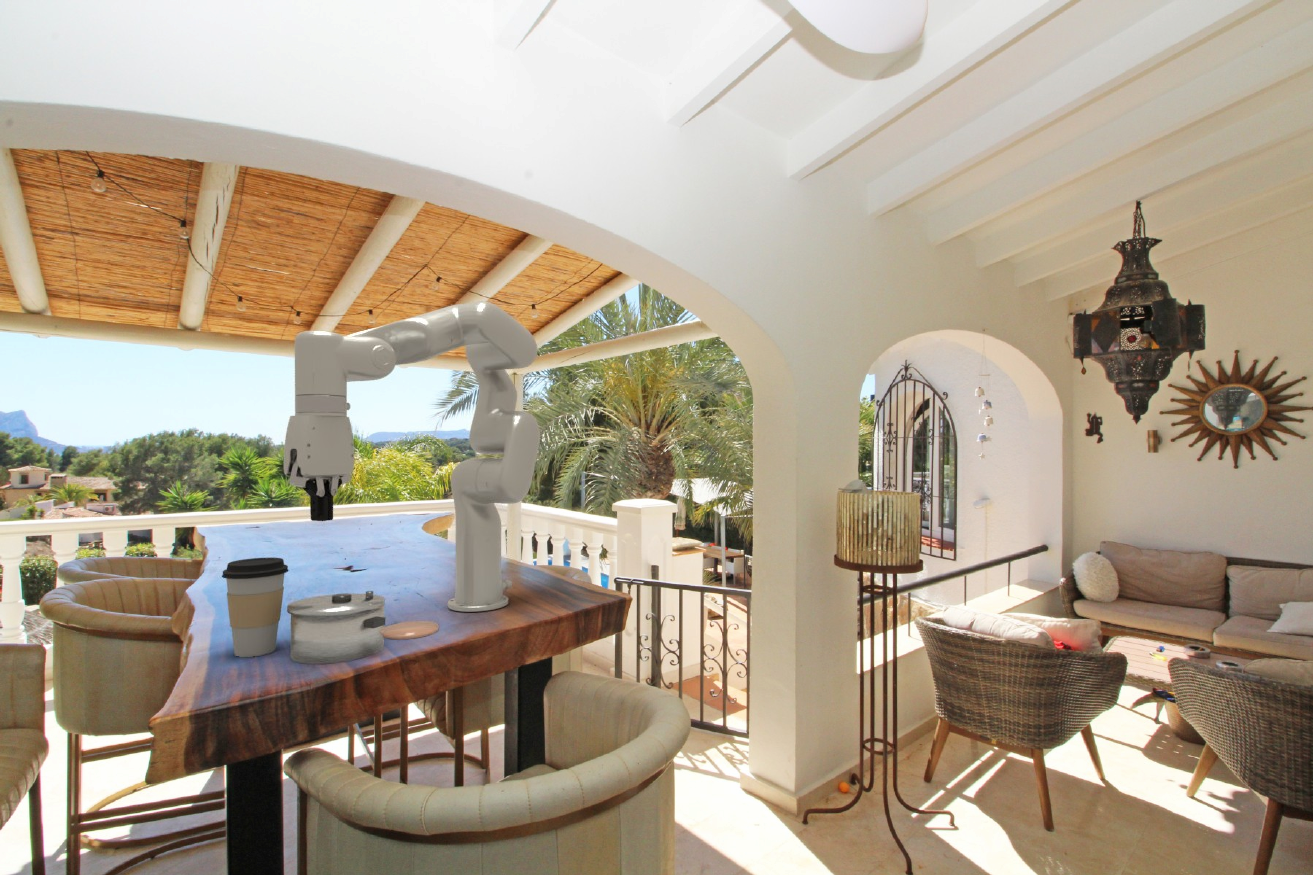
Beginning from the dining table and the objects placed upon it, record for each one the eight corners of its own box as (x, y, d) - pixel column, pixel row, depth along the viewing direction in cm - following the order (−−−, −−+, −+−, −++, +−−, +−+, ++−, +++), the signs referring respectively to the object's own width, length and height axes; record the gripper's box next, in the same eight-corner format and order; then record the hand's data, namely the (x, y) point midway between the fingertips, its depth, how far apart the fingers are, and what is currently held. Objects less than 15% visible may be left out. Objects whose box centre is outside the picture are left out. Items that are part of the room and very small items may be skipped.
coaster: (409, 621, 124) (409, 618, 124) (450, 627, 120) (450, 624, 120) (367, 635, 115) (367, 632, 115) (411, 641, 111) (411, 638, 111)
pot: (334, 633, 117) (335, 595, 117) (411, 644, 110) (411, 604, 110) (261, 655, 104) (262, 613, 104) (343, 670, 97) (343, 625, 97)
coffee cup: (275, 640, 112) (275, 554, 113) (297, 650, 106) (298, 560, 107) (212, 653, 105) (213, 562, 105) (232, 665, 99) (233, 568, 99)
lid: (341, 595, 116) (342, 584, 116) (403, 602, 110) (404, 590, 111) (265, 611, 103) (266, 598, 103) (332, 620, 97) (332, 607, 97)
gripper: (342, 410, 112) (343, 514, 112) (261, 406, 99) (262, 525, 98) (374, 409, 110) (375, 516, 109) (296, 404, 96) (296, 527, 96)
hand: (321, 520), depth 104 cm, fingers closed
